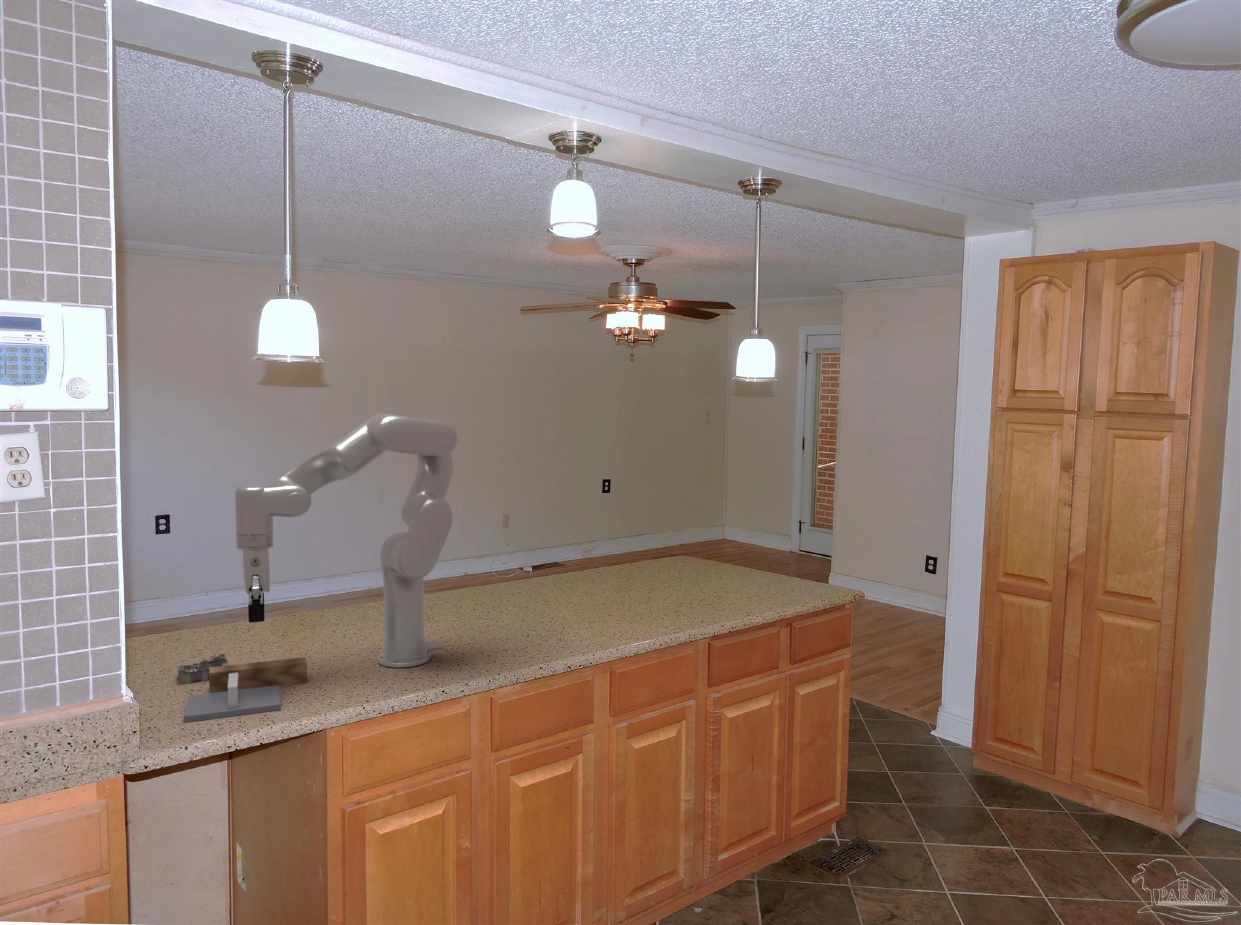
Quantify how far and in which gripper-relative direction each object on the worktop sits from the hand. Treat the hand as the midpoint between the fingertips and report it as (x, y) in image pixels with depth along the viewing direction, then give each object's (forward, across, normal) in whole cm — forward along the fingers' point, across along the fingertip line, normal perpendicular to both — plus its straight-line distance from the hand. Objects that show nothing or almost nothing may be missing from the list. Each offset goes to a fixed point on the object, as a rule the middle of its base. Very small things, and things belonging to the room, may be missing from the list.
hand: (256, 615), depth 189 cm
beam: (+16, 0, 0) cm, 16 cm away
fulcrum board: (+16, -11, +5) cm, 20 cm away
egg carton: (+16, +11, +12) cm, 23 cm away
